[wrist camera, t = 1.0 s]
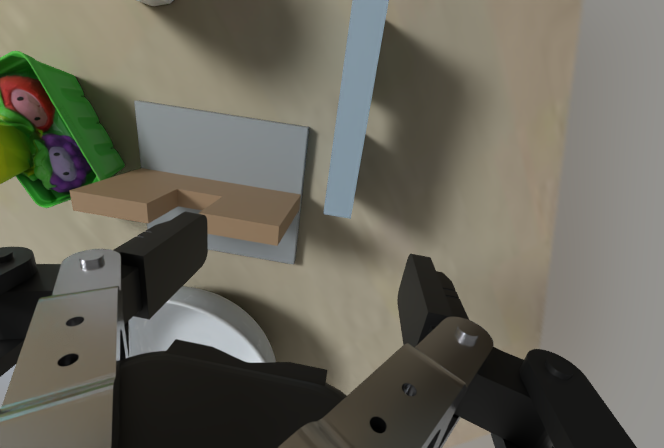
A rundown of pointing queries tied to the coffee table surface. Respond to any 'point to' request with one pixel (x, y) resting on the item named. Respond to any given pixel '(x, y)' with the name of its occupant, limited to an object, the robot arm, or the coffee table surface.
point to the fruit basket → (49, 132)
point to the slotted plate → (354, 103)
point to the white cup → (156, 2)
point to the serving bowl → (201, 327)
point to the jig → (211, 179)
